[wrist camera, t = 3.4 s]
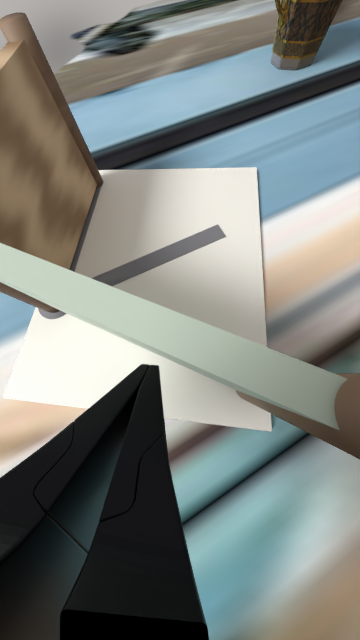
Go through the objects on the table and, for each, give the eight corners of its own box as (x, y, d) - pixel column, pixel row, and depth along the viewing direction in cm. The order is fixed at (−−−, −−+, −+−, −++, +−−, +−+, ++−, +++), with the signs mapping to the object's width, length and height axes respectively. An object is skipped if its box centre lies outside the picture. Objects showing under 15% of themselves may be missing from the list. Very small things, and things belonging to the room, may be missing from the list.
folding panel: (64, 317, 16) (-123, 235, 7) (75, 299, 17) (-82, 199, 7) (256, 405, 13) (448, 501, 3) (264, 379, 13) (449, 396, 4)
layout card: (269, 429, 13) (272, 432, 12) (7, 397, 15) (1, 397, 14) (255, 171, 21) (256, 166, 20) (88, 173, 23) (85, 169, 23)
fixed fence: (64, 314, 16) (-163, 209, 6) (41, 312, 17) (-217, 209, 6) (106, 178, 22) (27, -2, 11) (89, 178, 22) (-5, 2, 12)
